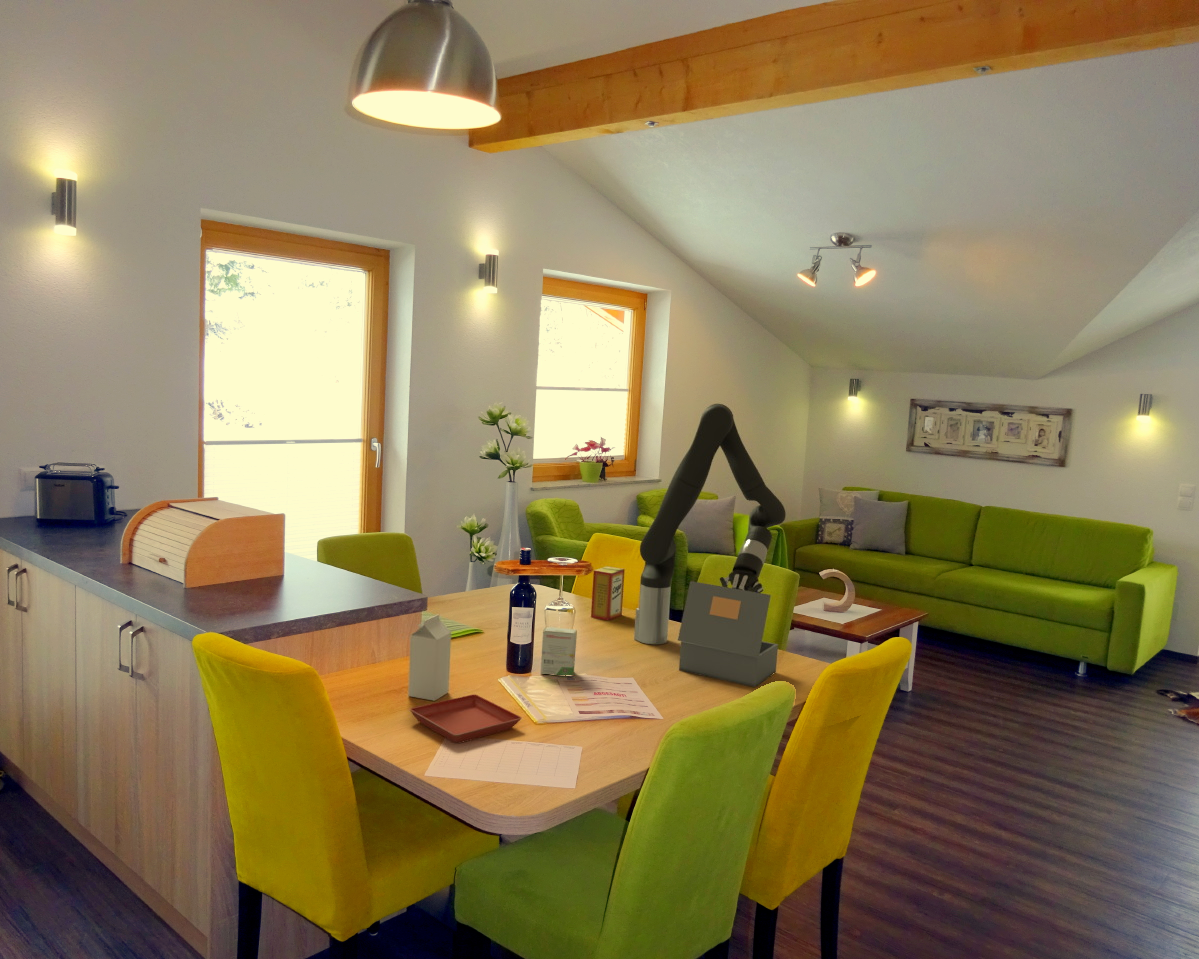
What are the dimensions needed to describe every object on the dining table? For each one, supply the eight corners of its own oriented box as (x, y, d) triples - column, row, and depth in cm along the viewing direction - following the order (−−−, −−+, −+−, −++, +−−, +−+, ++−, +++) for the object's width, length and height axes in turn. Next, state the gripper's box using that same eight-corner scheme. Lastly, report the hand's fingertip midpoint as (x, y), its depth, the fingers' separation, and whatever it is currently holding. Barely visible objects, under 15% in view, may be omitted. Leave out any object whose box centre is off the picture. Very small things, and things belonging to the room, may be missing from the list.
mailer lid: (678, 640, 253) (677, 640, 252) (691, 581, 256) (690, 580, 255) (758, 657, 241) (757, 657, 241) (770, 595, 245) (770, 594, 244)
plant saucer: (522, 731, 205) (523, 716, 204) (454, 749, 192) (455, 734, 192) (474, 707, 218) (475, 693, 217) (407, 723, 205) (408, 708, 205)
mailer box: (678, 670, 254) (680, 641, 253) (702, 656, 268) (704, 629, 267) (755, 687, 243) (757, 657, 242) (775, 672, 257) (778, 644, 256)
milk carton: (448, 692, 225) (452, 616, 223) (434, 701, 219) (437, 622, 217) (423, 688, 228) (426, 612, 226) (407, 696, 221) (410, 618, 219)
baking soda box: (608, 620, 302) (611, 572, 300) (590, 617, 305) (593, 569, 303) (621, 615, 310) (624, 567, 308) (604, 611, 313) (607, 565, 312)
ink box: (539, 675, 243) (542, 630, 242) (543, 669, 248) (545, 625, 247) (572, 677, 242) (575, 633, 241) (575, 671, 247) (577, 628, 246)
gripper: (725, 548, 263) (705, 598, 253) (770, 555, 256) (751, 606, 247) (731, 564, 268) (711, 614, 258) (775, 571, 261) (757, 622, 252)
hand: (731, 610), depth 253 cm, fingers closed
